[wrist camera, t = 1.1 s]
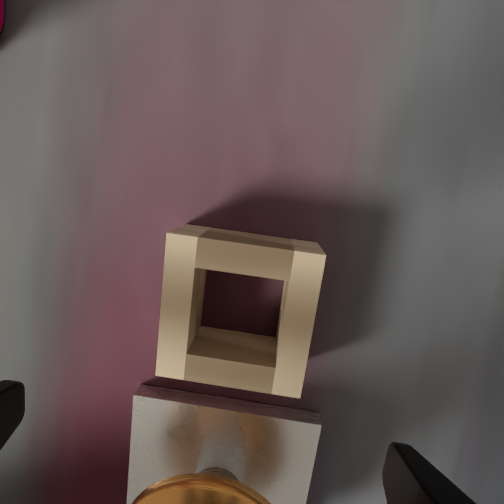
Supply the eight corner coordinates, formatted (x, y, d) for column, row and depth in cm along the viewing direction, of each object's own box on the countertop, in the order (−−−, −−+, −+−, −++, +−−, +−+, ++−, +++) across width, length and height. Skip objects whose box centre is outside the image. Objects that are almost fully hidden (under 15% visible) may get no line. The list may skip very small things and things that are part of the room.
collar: (296, 363, 18) (300, 398, 15) (174, 344, 18) (155, 375, 15) (317, 242, 17) (326, 255, 14) (185, 223, 17) (166, 232, 14)
